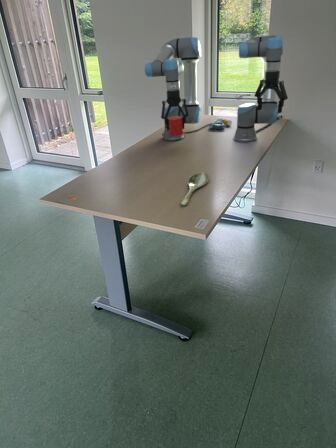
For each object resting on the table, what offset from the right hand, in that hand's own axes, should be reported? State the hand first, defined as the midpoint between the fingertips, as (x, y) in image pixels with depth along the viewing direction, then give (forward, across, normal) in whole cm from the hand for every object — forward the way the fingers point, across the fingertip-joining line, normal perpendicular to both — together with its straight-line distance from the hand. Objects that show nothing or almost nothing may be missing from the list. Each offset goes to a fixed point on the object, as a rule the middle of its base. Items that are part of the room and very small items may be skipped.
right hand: (269, 111), depth 190 cm
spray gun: (+26, -66, +31) cm, 77 cm away
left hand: (+8, -38, -38) cm, 55 cm away
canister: (+10, -38, -38) cm, 55 cm away
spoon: (+26, +2, -62) cm, 68 cm away
